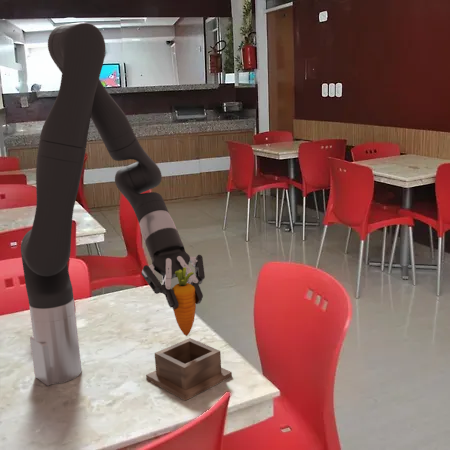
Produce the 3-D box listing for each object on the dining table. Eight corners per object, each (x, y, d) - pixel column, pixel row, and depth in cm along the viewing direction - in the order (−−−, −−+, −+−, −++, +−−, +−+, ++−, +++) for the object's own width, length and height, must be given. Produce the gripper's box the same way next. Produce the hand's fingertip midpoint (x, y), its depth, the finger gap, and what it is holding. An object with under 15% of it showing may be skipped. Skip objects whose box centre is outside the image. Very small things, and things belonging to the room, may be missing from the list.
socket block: (185, 400, 108) (183, 373, 107) (146, 379, 118) (144, 353, 116) (231, 376, 117) (230, 350, 116) (192, 358, 126) (190, 333, 125)
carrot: (186, 328, 119) (181, 262, 115) (203, 334, 116) (198, 266, 112) (169, 337, 115) (164, 269, 111) (187, 342, 112) (181, 273, 108)
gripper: (132, 232, 113) (159, 304, 106) (195, 221, 120) (224, 289, 112) (126, 251, 119) (151, 321, 111) (186, 240, 126) (213, 305, 118)
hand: (187, 304), depth 112 cm, fingers closed on carrot, 4 cm apart
